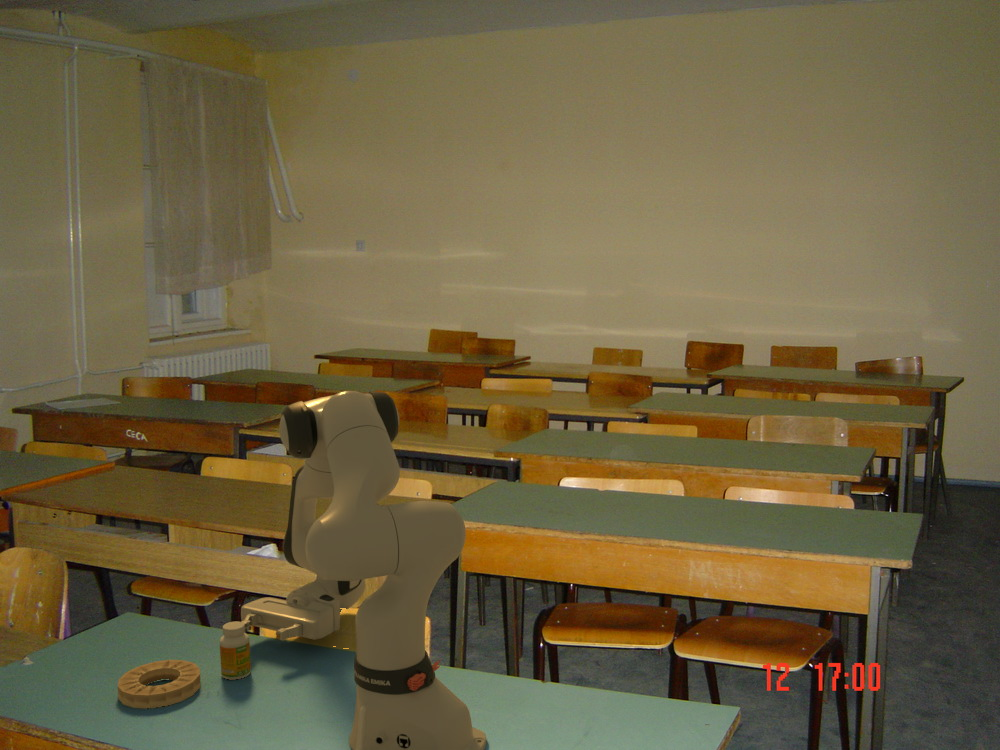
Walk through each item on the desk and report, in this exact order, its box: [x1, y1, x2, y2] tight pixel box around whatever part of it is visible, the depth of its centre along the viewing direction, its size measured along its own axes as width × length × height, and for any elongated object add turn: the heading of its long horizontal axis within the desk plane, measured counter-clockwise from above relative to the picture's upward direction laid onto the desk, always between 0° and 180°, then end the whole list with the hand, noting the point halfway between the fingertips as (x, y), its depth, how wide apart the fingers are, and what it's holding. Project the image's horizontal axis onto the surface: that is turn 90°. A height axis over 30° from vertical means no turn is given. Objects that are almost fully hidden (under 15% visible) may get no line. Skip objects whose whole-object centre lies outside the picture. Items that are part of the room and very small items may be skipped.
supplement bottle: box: [219, 621, 252, 681], centre depth 175 cm, size 5×5×10 cm
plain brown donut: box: [117, 659, 201, 710], centre depth 170 cm, size 14×14×2 cm
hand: (260, 632), depth 181 cm, fingers open, 8 cm apart
